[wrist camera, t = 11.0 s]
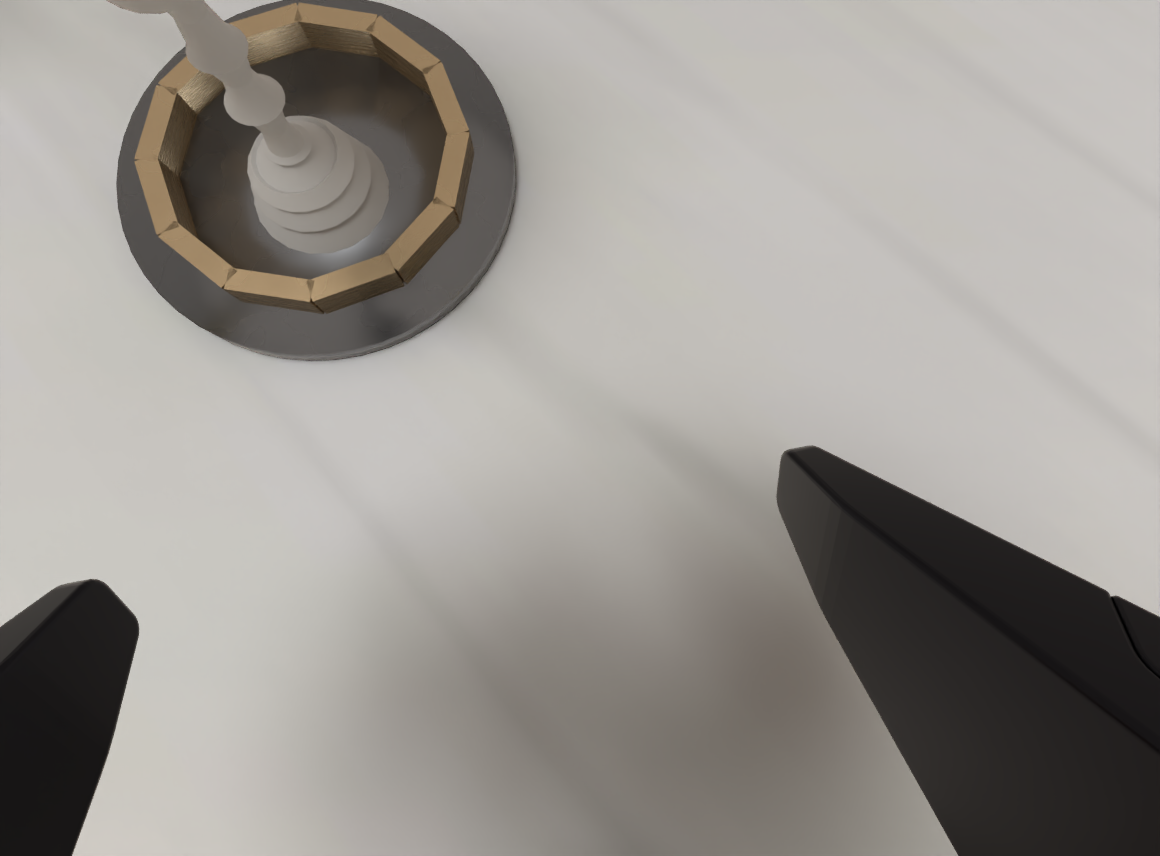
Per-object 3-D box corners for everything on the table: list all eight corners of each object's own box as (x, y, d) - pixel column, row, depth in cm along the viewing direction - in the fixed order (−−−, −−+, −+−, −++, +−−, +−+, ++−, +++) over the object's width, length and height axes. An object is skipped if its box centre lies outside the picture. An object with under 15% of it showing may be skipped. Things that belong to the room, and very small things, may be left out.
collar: (339, 440, 21) (317, 432, 19) (50, 202, 22) (0, 171, 20) (591, 154, 23) (593, 120, 21) (314, -50, 25) (292, -100, 23)
